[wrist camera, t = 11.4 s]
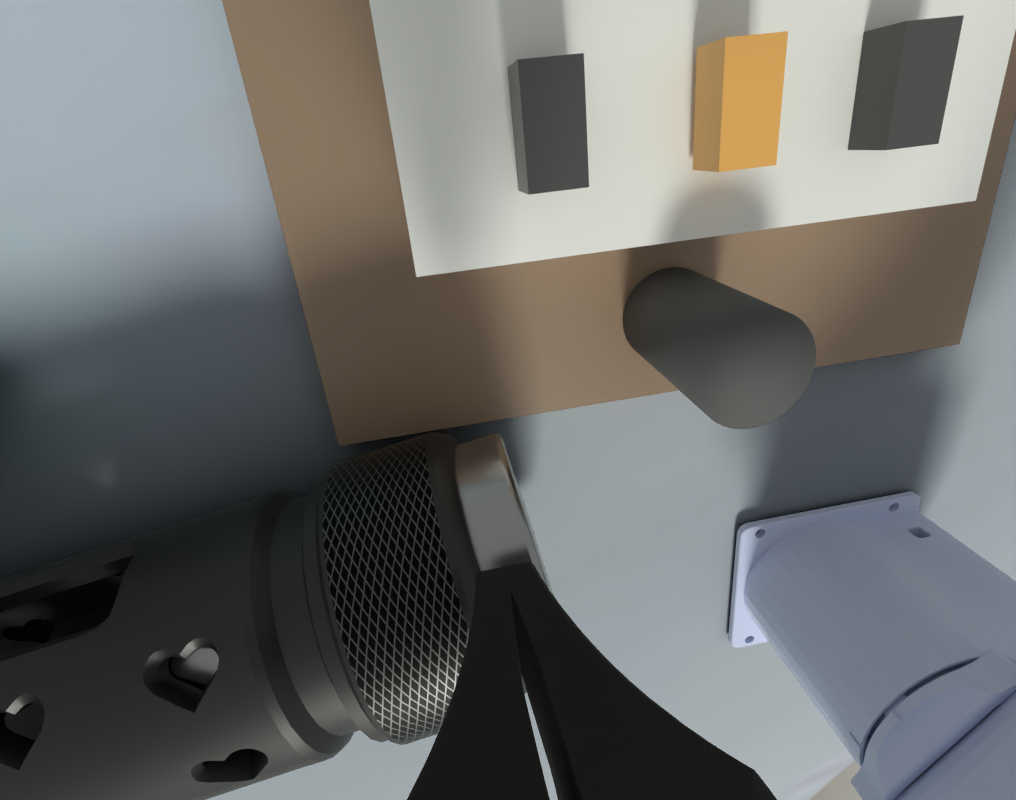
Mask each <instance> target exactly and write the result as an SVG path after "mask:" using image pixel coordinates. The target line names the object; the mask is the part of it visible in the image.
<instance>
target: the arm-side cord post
mask: <svg viewBox="0 0 1016 800" xmlns="http://www.w3.org/2000/svg"><path fill="white" fill-rule="evenodd" d="M623 330H624V334H625V336H626V339H627V341H628V343H629V344H630V345H631V347H632V348H633V349H634V350H635V351H636V352H637V353H638V354H639V355H641V356H642V357H643V358H644V359H645V360H646V361H647V362H648V363H650V364H651V365H652V366H653V367H654V368H655V369H656V370H657V371H658V372H660V373H661V374H662V375H663V376H664V377H665V378H666V379H667V380H668V381H670V382H671V383H672V384H673V385H674V386H675V387H676V388H677V389H679V390H680V391H681V392H682V393H683V394H684V395H685V396H686V397H687V398H689V399H690V400H691V401H692V402H693V403H694V404H695V405H696V406H697V407H699V408H700V409H701V410H702V411H703V412H704V413H705V414H706V415H708V416H709V417H710V418H711V419H712V420H714V421H715V422H716V423H718V424H720V425H723V426H726V427H729V428H735V429H748V428H754V427H758V426H761V425H764V424H767V423H769V422H771V421H773V420H775V419H777V418H778V417H780V416H781V415H783V414H784V413H785V412H787V411H788V410H789V409H790V408H791V407H792V406H793V405H794V404H795V403H796V402H797V401H798V400H799V399H800V397H801V396H802V394H803V393H804V392H805V390H806V388H807V386H808V385H809V382H810V380H811V378H812V375H813V372H814V368H815V363H816V346H815V341H814V338H813V335H812V333H811V331H810V329H809V328H808V326H807V325H806V324H805V323H804V322H803V321H802V320H801V319H800V318H798V317H797V316H795V315H793V314H791V313H789V312H787V311H785V310H782V309H780V308H778V307H775V306H773V305H771V304H768V303H766V302H764V301H762V300H759V299H757V298H755V297H752V296H750V295H748V294H745V293H743V292H741V291H738V290H736V289H734V288H732V287H729V286H727V285H725V284H722V283H720V282H718V281H715V280H713V279H711V278H709V277H706V276H704V275H702V274H699V273H697V272H695V271H692V270H690V269H687V268H683V267H668V268H664V269H661V270H658V271H656V272H654V273H651V274H650V275H648V276H647V277H645V278H644V279H643V280H642V281H641V282H640V283H639V284H638V285H637V286H636V287H635V288H634V290H633V291H632V292H631V294H630V296H629V298H628V300H627V302H626V305H625V308H624V312H623Z"/></svg>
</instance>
